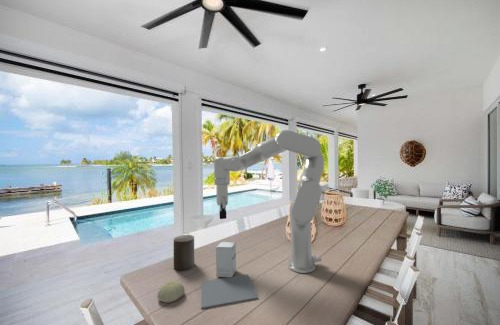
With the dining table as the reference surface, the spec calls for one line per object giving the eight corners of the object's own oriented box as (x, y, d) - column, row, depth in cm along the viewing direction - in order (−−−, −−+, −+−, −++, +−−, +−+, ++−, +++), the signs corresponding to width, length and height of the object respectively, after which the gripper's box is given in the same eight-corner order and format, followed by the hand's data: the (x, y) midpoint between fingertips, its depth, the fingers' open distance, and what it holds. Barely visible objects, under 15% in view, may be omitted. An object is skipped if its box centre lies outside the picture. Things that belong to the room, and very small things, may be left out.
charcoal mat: (248, 275, 90) (248, 274, 90) (258, 298, 75) (258, 297, 75) (201, 282, 86) (201, 281, 86) (201, 309, 70) (201, 307, 70)
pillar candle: (176, 273, 94) (176, 240, 94) (171, 264, 102) (171, 234, 102) (197, 267, 99) (197, 236, 99) (191, 259, 107) (191, 230, 107)
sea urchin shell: (160, 285, 82) (174, 270, 82) (174, 298, 82) (189, 283, 83) (151, 300, 73) (167, 283, 73) (167, 315, 73) (183, 298, 73)
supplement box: (232, 277, 88) (231, 247, 89) (215, 276, 89) (215, 246, 90) (237, 270, 95) (236, 242, 96) (221, 269, 97) (220, 241, 98)
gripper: (213, 180, 110) (214, 215, 110) (215, 183, 95) (216, 223, 95) (227, 180, 111) (228, 214, 111) (231, 182, 97) (232, 221, 97)
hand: (223, 218), depth 103 cm, fingers closed
